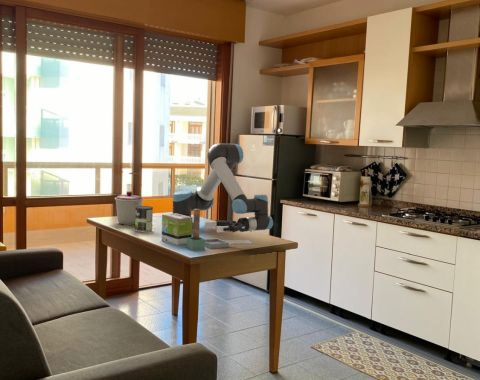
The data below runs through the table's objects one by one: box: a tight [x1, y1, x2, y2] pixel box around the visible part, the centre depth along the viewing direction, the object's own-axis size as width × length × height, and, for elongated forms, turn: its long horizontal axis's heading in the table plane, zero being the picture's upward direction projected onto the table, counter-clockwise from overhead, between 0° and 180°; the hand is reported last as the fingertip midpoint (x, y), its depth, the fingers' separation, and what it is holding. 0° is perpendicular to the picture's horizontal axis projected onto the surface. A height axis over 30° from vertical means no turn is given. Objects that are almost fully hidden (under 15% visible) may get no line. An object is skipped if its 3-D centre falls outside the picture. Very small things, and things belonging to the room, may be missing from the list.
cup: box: [185, 236, 206, 251], centre depth 239 cm, size 7×7×6 cm
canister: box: [114, 190, 145, 226], centre depth 301 cm, size 18×18×21 cm
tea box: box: [161, 213, 193, 246], centre depth 252 cm, size 15×10×15 cm, turn 45°
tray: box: [204, 237, 230, 249], centre depth 248 cm, size 12×11×3 cm
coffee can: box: [134, 205, 154, 233], centre depth 281 cm, size 10×10×14 cm
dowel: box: [192, 209, 201, 240], centre depth 238 cm, size 3×3×20 cm
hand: (210, 227), depth 242 cm, fingers open, 13 cm apart
